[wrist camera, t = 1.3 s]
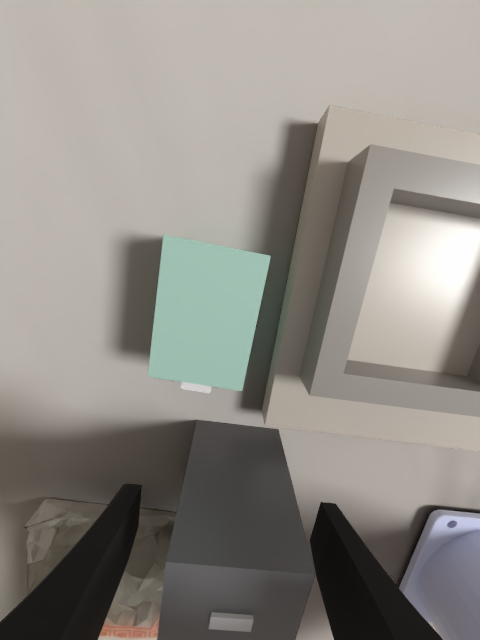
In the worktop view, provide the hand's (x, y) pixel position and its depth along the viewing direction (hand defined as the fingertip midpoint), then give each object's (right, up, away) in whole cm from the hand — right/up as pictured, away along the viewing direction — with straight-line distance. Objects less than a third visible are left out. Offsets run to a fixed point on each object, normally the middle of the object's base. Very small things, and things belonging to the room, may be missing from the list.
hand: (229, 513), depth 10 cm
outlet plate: (+7, +8, +1) cm, 11 cm away
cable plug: (-1, +8, +1) cm, 8 cm away
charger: (0, +1, +3) cm, 3 cm away
